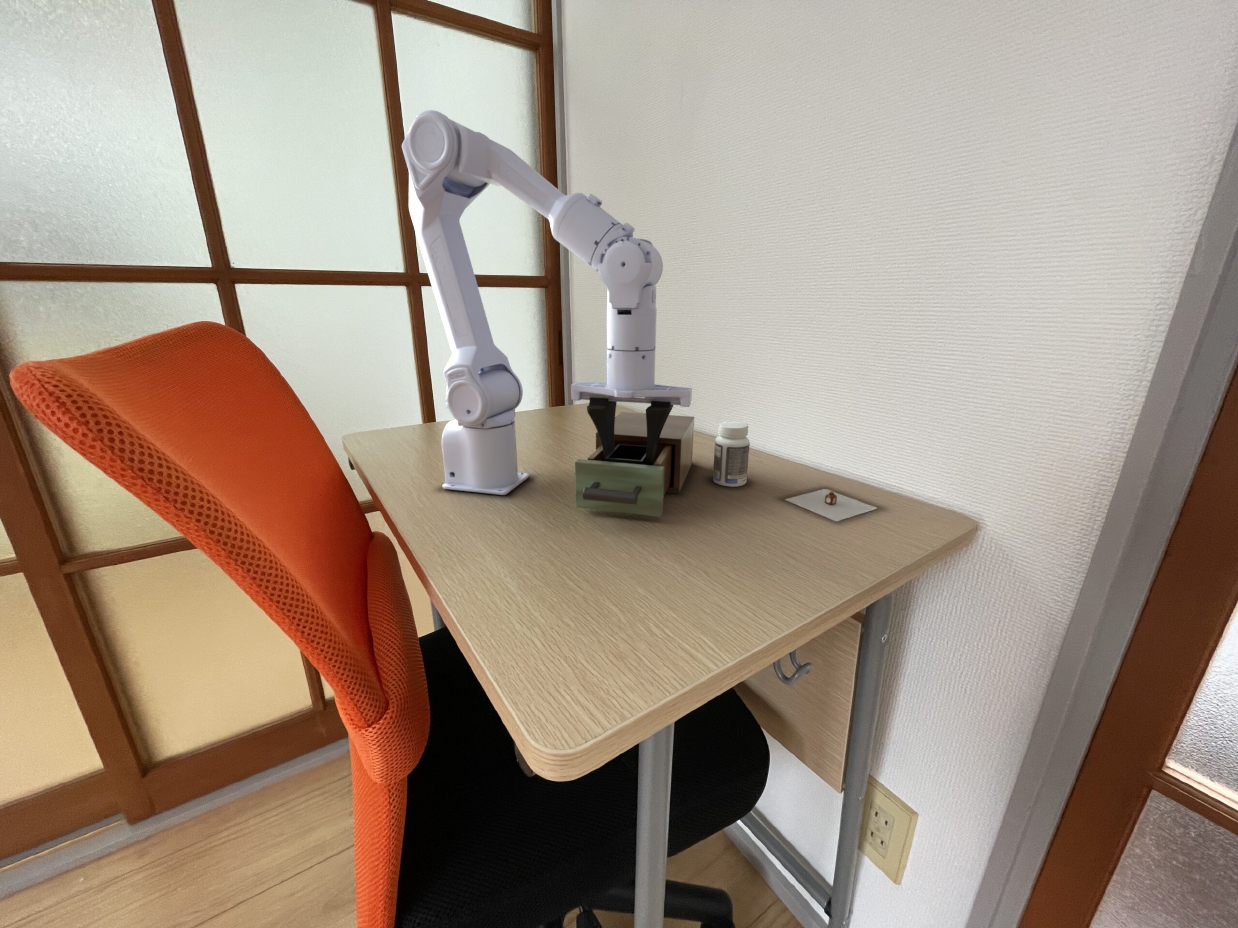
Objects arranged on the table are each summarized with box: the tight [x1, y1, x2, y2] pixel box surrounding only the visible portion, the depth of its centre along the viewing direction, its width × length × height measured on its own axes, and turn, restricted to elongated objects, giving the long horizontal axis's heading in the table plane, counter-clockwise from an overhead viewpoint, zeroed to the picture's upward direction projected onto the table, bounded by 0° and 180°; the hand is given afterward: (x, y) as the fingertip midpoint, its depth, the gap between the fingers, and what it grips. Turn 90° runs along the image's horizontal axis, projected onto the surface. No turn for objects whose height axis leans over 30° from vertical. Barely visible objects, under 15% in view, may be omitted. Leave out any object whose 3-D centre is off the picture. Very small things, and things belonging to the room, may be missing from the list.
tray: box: [605, 444, 653, 466], centre depth 66 cm, size 5×6×3 cm
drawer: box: [574, 440, 674, 518], centre depth 65 cm, size 16×10×6 cm, turn 165°
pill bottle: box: [712, 420, 751, 488], centre depth 74 cm, size 5×5×8 cm
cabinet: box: [595, 411, 695, 495], centre depth 77 cm, size 14×12×8 cm
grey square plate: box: [784, 488, 878, 522], centre depth 67 cm, size 8×8×2 cm
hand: (629, 459), depth 66 cm, fingers closed on tray, 5 cm apart
